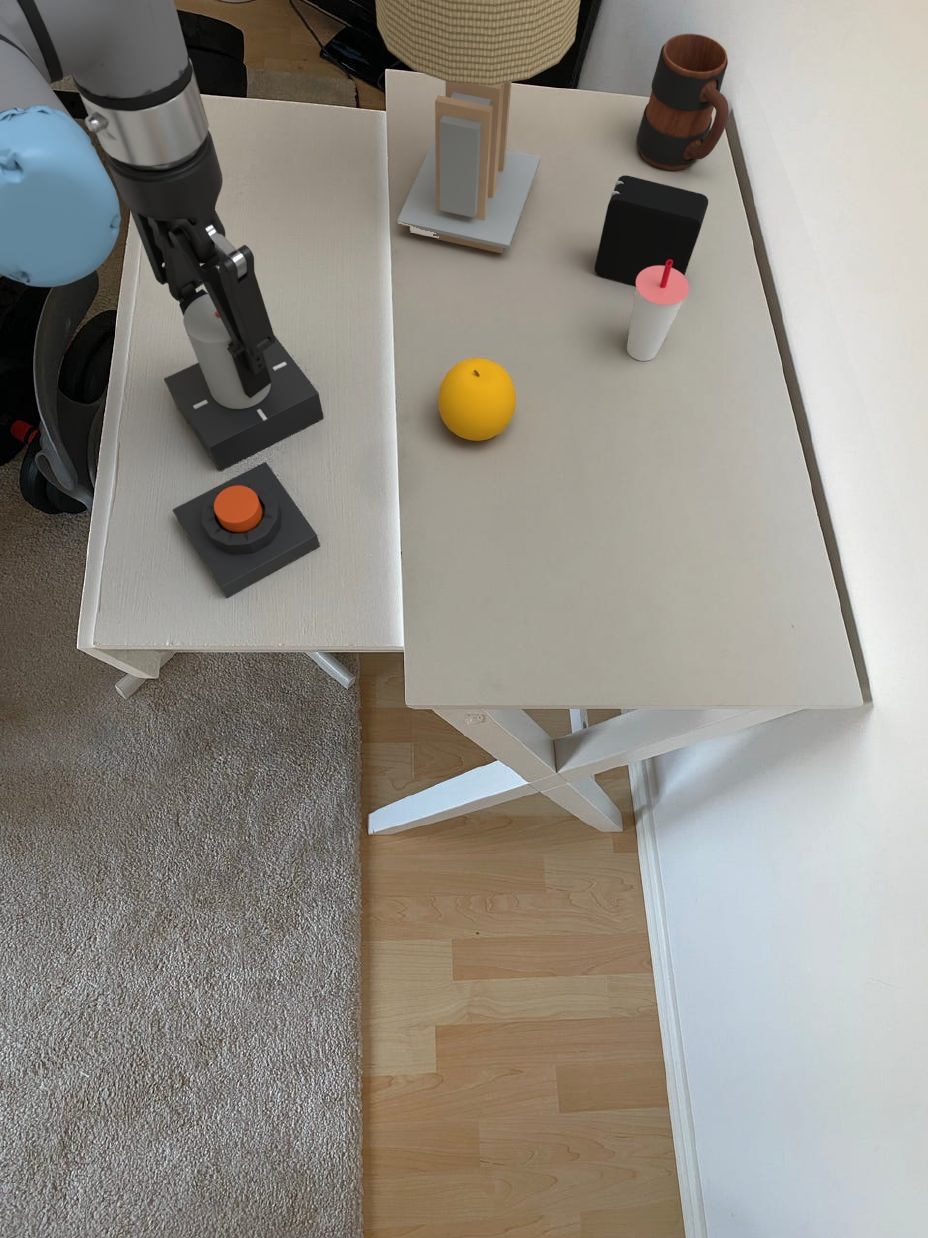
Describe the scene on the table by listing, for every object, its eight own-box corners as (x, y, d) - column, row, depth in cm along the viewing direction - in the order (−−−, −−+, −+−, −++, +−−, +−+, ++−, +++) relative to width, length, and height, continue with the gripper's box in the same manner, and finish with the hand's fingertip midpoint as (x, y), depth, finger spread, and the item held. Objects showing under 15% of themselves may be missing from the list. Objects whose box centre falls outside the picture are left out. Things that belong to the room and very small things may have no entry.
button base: (227, 598, 73) (215, 578, 70) (178, 521, 76) (165, 498, 73) (320, 546, 76) (314, 524, 72) (270, 474, 79) (261, 449, 75)
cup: (634, 374, 85) (662, 286, 74) (608, 340, 87) (632, 249, 76) (675, 357, 87) (709, 268, 76) (649, 324, 88) (678, 232, 77)
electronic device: (676, 297, 90) (703, 221, 81) (592, 275, 91) (609, 197, 82) (684, 272, 92) (711, 195, 83) (601, 250, 93) (619, 172, 84)
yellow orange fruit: (504, 460, 80) (510, 412, 74) (429, 443, 81) (428, 394, 74) (520, 399, 84) (527, 348, 77) (448, 384, 84) (449, 332, 77)
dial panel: (220, 472, 79) (209, 446, 75) (175, 404, 82) (162, 376, 78) (324, 419, 82) (318, 392, 78) (276, 355, 85) (269, 326, 81)
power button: (231, 540, 72) (226, 530, 70) (211, 508, 73) (205, 498, 71) (270, 519, 73) (266, 509, 71) (249, 488, 74) (245, 478, 72)
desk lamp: (416, 138, 100) (404, -255, 68) (566, 169, 99) (626, -219, 66) (368, 243, 93) (328, -145, 60) (529, 279, 91) (577, -101, 59)
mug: (674, 197, 97) (703, 102, 86) (622, 139, 101) (643, 41, 91) (731, 176, 99) (766, 80, 88) (677, 120, 103) (704, 22, 92)
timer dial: (237, 419, 77) (212, 350, 68) (197, 386, 78) (167, 314, 70) (283, 384, 79) (264, 312, 70) (243, 352, 80) (219, 278, 72)
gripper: (30, 101, 56) (142, 338, 78) (202, 232, 52) (271, 447, 73) (115, 55, 59) (201, 297, 80) (288, 177, 54) (331, 401, 75)
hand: (235, 368), depth 76 cm, fingers closed on timer dial, 6 cm apart
